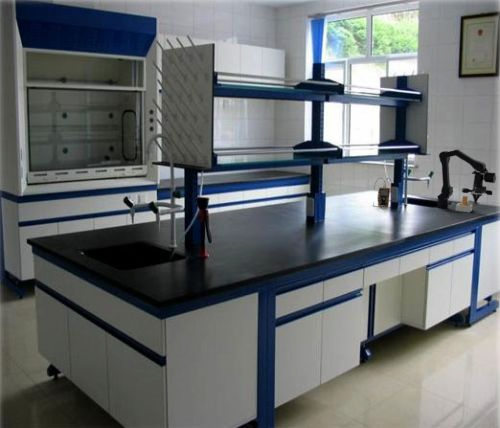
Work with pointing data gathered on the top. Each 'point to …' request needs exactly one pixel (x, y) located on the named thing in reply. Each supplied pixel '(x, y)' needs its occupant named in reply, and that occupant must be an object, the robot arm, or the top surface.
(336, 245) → the top surface
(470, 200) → the clip
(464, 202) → the plug
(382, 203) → the multimeter
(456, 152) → the robot arm
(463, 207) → the socket block
